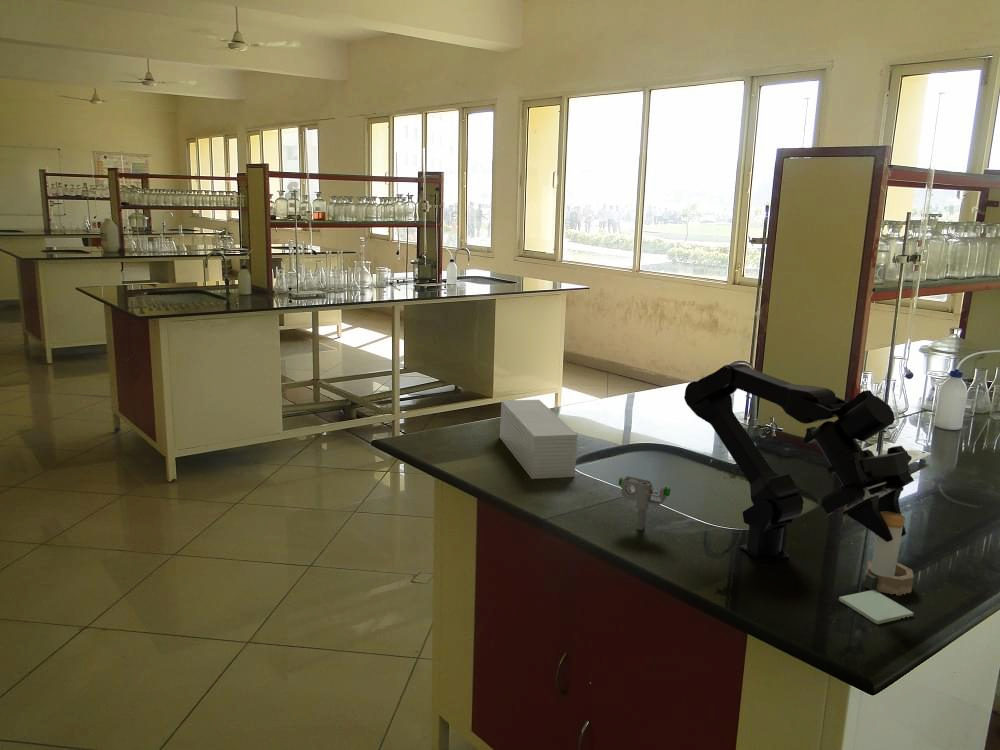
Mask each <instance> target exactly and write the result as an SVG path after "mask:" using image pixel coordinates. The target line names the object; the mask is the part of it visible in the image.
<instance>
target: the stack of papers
mask: <svg viewBox="0 0 1000 750" xmlns="http://www.w3.org/2000/svg"><path fill="white" fill-rule="evenodd" d="M500 403H501V405H500V406H501V408H500V423H499V424H500V425H499V427H500V429H499V430H500V431H499V438H500V440H501V441H502V442H503V444H504V445H505V446H506V448H507V449H508V451H510V453H511V454H512V455H513V457H514V459H516V460H517V461H518V463H519V465H521V467H522V468H523V470H524V471H525V472H526V474H528V475H529V477H530V479H532V480H535V479H537V480H538V479H554V478H555V479H558V478H575V476H576V467H577V466H576V465H577V464H576V462H577V449H578V447H577V446H578V436H579V435H578V434H577V433H576V432H575V430H573V429H572V428H571V427H570V426H568V425H567V424H566V423H565V422H564V420H562V419H561V418H560V417H558V416H557V414H555V413H554V412H553V411H552V410H551V409H550V408H549V407H548V406H547V405H546V404H544V402H542V401H541V400H540V399H515V400H514V399H512V400H511V399H509V400H507V399H505V400H501V402H500Z"/></svg>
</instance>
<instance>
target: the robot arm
mask: <svg viewBox="0 0 1000 750" xmlns="http://www.w3.org/2000/svg"><path fill="white" fill-rule="evenodd" d="M737 390H741V391H742V392H745V393H747V394H751V395H753V396H755V397H758V398H759V399H763V400H765V401H768V402H770V403H773V404H775V405H778V406H779V407H780V408H781V409H782V411H783V412H785V414H786V415H788V416H789V417H791V418H793V419H794V420H796V421H797V422H799V423H802V424H812V423H817V422H822V421H823V423H821V424H820V425H819V426H817V427H816V426H810V427H807V428H806V429H805V436H804V438H803V444H806V445H807V444H808V445H809V444H811V443H814V442H815V443H817V445H818V447H819V449H820V450H821V452H822V453H823V455H824V456H825V458H826V460H827V461H828V463H829V465H830V466H829V467H828V468H827V469H826V470H827V472H828V474H829V475H831V474H836V476H837V478H838V480H839V482H841V484H842V486H840V487H838V488H836V489H835V490H833V491H832V492H830V493H828V494H826V495H825V496H823V497H821V501H820V507H821V508H822V510H823V511H824V513H825V515H826V516H829V515H832V514H835V513H838V512H839V510H840V509H842V508H844V507H846V508H847V509H846V510H845V511H842V512H841V514H842V515H843V516H848V517H849V518H851V519H852V520H854V521H856V522H857V523H859V524H860V525H862V526H864V527H865V528H866V529H868V531H870V532H873V534H874V535H878V536H879V537H881V538H882V539H883V540H885V541H886V542H889V541H891V540H893V537H892V535H891V533H890V530H889V528H888V526H887V525H886V523H885V521H884V519H883V517H882V515H881V513H880V512H882V511H890V512H895V513H898V514H900V515H902V512H901V508H900V502H899V500H900V496H901V494H902V492H903V491H904V490H905V489H904V487H905V486H907V485H909V484H911V483H912V482H914V481H915V480H914V477H913V476H912V475H911V473H910V471H911V470H910V467H909V464H910V462H911V461H912V456H911V455H909V453H908V451H907V450H906V449H905V448H904V447H903V446H902V445H897V446H891V447H888V448H887V452H886V453H885V454H881V455H875V454H874V453H873V451H871V450H870V449H864V450H863V448H862V446H860V444H859V442H865V441H867V440H869V439H871V438H872V437H874V436H876V435H877V434H878V433H880V432H882V431H883V430H885V429H887V428H888V427H890V426H891V425H893V424H894V422H895V419H896V418H895V414H894V411H893V410H892V407H891V406H890V405H889V404H887V403H886V402H885V401H884V400H883V399H882V398H880V397H878V396H876V395H874V394H873V392H872V390H870V389H866V390H862V391H860V392H859V393H857V395H855V397H854V398H852V399H851V400H849V401H847V400H846V399H843V398H840V397H837V396H836V393H835V391H833V390H832V389H830V388H826V387H821V386H814V385H805V384H794V383H791V382H788V381H786V380H782V379H780V378H777V377H774V376H772V375H769V374H767V373H764V372H761V371H758V370H756V369H753V368H750V367H748V366H746V365H745V364H743V363H732V364H726V365H723V366H721V367H720V368H719V369H717V370H715V371H714V372H712V373H710V374H708V375H706V376H704V377H702V378H700V379H698V380H694V381H690V382H689V383H688V384H687V385H686V387H685V391H684V397H683V398H684V401H685V404H686V405H687V406H688V407H689V409H690V410H691V411H692V413H694V415H695V416H696V417H698V418H700V419H702V420H703V421H705V422H706V423H708V424H709V425H711V427H712V429H713V430H714V432H715V433H716V434H717V436H718V438H719V439H720V441H721V442H722V444H723V445H724V446H725V448H726V450H727V451H728V453H729V454H730V456H731V458H732V459H733V461H734V462H735V464H736V465H737V466H738V468H739V470H740V471H741V473H742V475H743V476H744V477H745V479H746V480H747V482H748V484H749V489H750V500H751V502H752V505H751V506H750V507H748V508H746V509H745V510H743V511H742V519H743V523H744V524H746V525H748V533H747V541H746V542H747V543H746V544H742V545H740V549H742V550H743V551H745V553H747V554H749V555H750V556H751V557H754V558H756V559H757V560H759V561H760V562H763V563H764V562H772V561H777V560H783V559H788V558H790V555H789V554H788V553H787V552H786V551H785V549H786V542H787V535H788V530H787V526H788V524H794V521H795V519H796V518H797V517H799V516H800V515H801V514H802V512H803V510H804V503H805V502H804V499H803V496H802V495H801V493H802V490H801V488H799V487H798V486H797V485H796V483H795V481H794V480H793V478H792V476H791V475H790V474H788V473H786V474H785V473H784V474H782V475H779V474H778V473H776V472H775V471H774V470H773V469H772V467H770V465H769V463H768V462H767V461H766V459H765V458H764V456H763V454H762V453H761V452H760V450H759V448H758V447H757V445H756V444H755V443H754V441H753V439H752V438H751V436H750V435H749V434H748V432H747V431H746V429H745V428H744V427H743V425H742V424H741V422H740V421H739V419H738V417H737V416H736V415H735V413H734V411H733V398H732V396H731V395H732V394H734V393H735V392H737ZM833 418H837V419H836V420H835V421H831V420H830V419H833ZM858 441H859V442H858ZM906 531H907V530H906V527H905V525H904V526H903V529H902V535H901V538H902V537H903V536H905V535H907V532H906Z"/></svg>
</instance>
